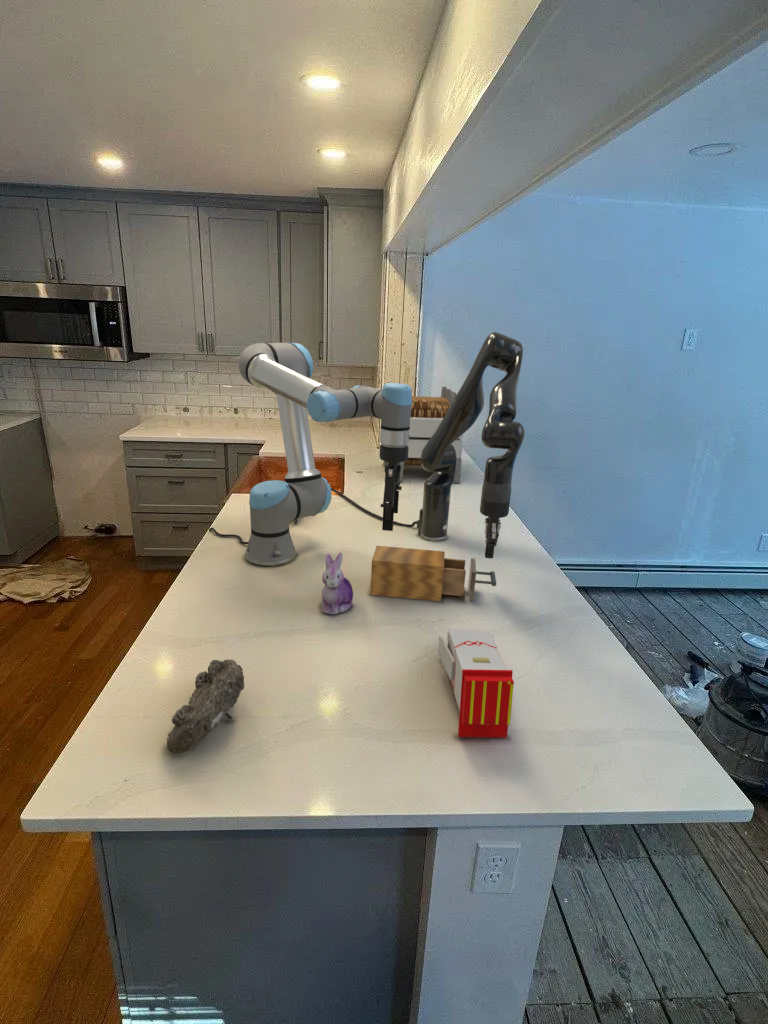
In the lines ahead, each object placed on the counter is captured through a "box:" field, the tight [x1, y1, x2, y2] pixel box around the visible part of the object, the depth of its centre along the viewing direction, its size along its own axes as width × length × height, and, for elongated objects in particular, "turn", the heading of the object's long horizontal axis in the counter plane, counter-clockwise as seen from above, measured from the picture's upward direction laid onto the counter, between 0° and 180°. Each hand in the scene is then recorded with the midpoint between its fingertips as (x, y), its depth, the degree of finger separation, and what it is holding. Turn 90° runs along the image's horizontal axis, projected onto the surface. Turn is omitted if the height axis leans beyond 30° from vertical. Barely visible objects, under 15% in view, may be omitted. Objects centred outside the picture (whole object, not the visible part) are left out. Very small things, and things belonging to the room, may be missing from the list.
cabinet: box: [370, 545, 446, 602], centre depth 159 cm, size 20×10×10 cm, turn 83°
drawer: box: [442, 557, 497, 601], centre depth 158 cm, size 24×9×8 cm, turn 83°
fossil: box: [166, 658, 245, 754], centre depth 106 cm, size 22×10×15 cm
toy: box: [437, 628, 515, 738], centre depth 117 cm, size 12×13×30 cm
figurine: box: [321, 552, 354, 615], centre depth 147 cm, size 9×10×15 cm
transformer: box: [383, 386, 464, 484], centre depth 268 cm, size 34×33×41 cm
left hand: (390, 521), depth 154 cm, fingers open, 13 cm apart
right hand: (488, 557), depth 154 cm, fingers closed
